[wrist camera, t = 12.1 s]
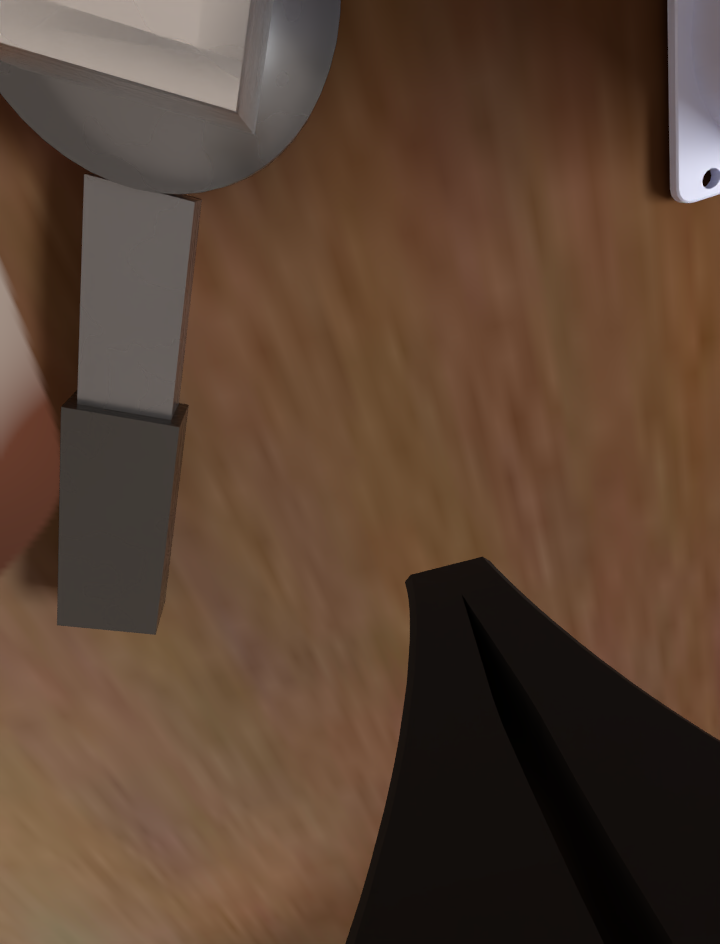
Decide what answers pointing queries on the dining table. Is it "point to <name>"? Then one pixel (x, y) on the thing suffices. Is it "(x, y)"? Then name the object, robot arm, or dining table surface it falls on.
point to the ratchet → (146, 304)
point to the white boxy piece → (148, 51)
